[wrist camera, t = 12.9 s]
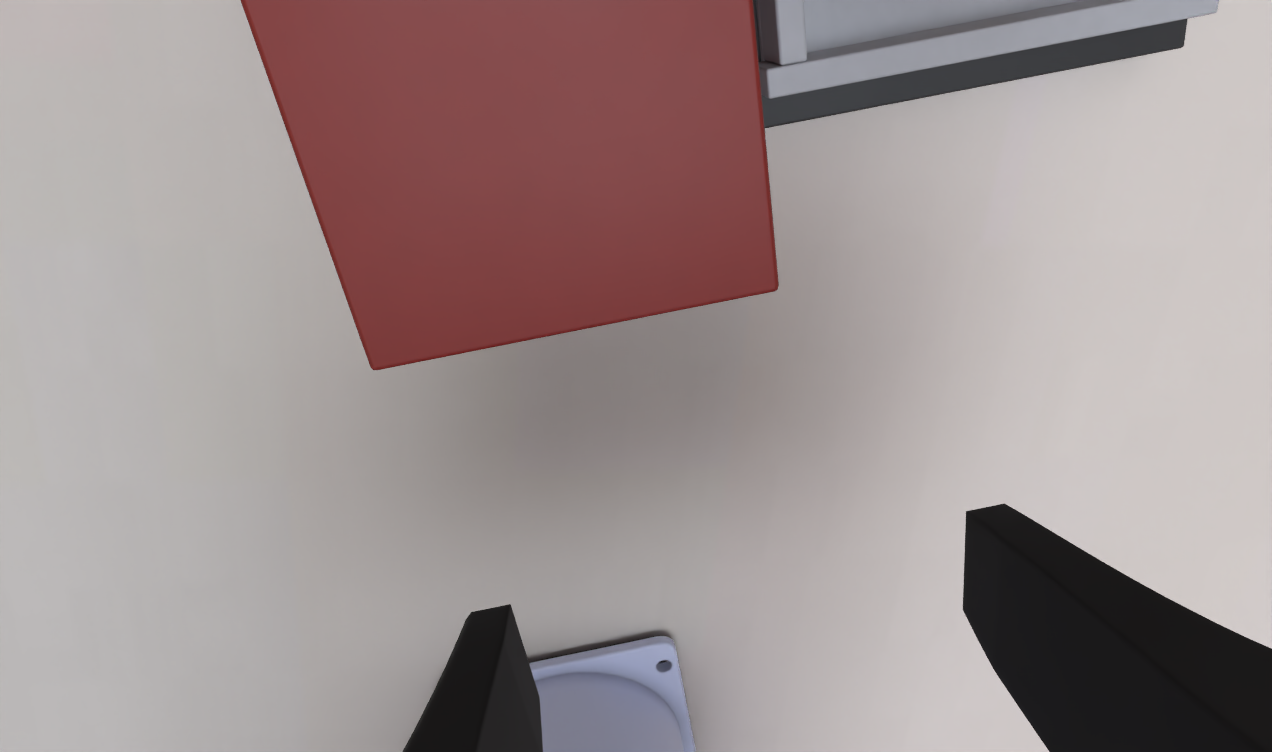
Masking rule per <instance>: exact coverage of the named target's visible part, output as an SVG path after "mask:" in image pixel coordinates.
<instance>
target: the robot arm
mask: <svg viewBox="0 0 1272 752" xmlns="http://www.w3.org/2000/svg"><path fill="white" fill-rule="evenodd" d="M963 611H964V613H965V615H966V617H967V619H968V621H969V623H970V625H971V627H972V629H973V631H974V633H975V635H976V637H977V639H978V641H979V643H980V644H981V646H982V648H983V650H984V652H985V654H986V656H987V658H988V659H989V661H990V663H991V665H992V667H993V669H994V670H995V672H996V673H997V675H998V676H999V678H1000V679H1001V681H1002V683H1003V684H1004V685H1005V687H1006V688H1007V690H1008V691H1009V693H1010V694H1011V696H1012V697H1013V699H1014V700H1015V702H1016V703H1017V705H1018V706H1019V708H1020V709H1021V711H1022V712H1023V714H1024V715H1025V717H1026V718H1027V719H1028V721H1029V722H1030V724H1031V725H1032V727H1033V728H1034V730H1035V731H1036V733H1037V734H1038V736H1039V737H1040V738H1041V740H1042V741H1043V743H1044V744H1045V746H1046V747H1047V749H1048V750H1049V752H1272V649H1271V648H1269V647H1266V646H1264V645H1262V644H1260V643H1257V642H1255V641H1253V640H1250V639H1248V638H1246V637H1244V636H1242V635H1240V634H1238V633H1235V632H1233V631H1231V630H1229V629H1227V628H1225V627H1223V626H1221V625H1219V624H1217V623H1215V622H1213V621H1211V620H1209V619H1207V618H1205V617H1203V616H1201V615H1199V614H1197V613H1195V612H1193V611H1191V610H1189V609H1187V608H1185V607H1183V606H1182V605H1180V604H1178V603H1176V602H1174V601H1172V600H1170V599H1168V598H1166V597H1164V596H1162V595H1161V594H1159V593H1157V592H1155V591H1153V590H1151V589H1150V588H1148V587H1146V586H1144V585H1142V584H1140V583H1139V582H1137V581H1135V580H1133V579H1132V578H1130V577H1128V576H1126V575H1124V574H1123V573H1121V572H1119V571H1117V570H1116V569H1114V568H1112V567H1110V566H1109V565H1107V564H1105V563H1104V562H1102V561H1100V560H1098V559H1097V558H1095V557H1093V556H1092V555H1090V554H1088V553H1087V552H1085V551H1083V550H1082V549H1080V548H1078V547H1077V546H1075V545H1073V544H1072V543H1070V542H1068V541H1067V540H1065V539H1063V538H1062V537H1060V536H1058V535H1057V534H1055V533H1053V532H1052V531H1050V530H1048V529H1047V528H1045V527H1043V526H1042V525H1040V524H1038V523H1037V522H1035V521H1033V520H1032V519H1030V518H1028V517H1027V516H1025V515H1023V514H1022V513H1020V512H1018V511H1016V510H1015V509H1013V508H1011V507H1009V506H1008V505H1006V504H1000V505H996V506H991V507H986V508H981V509H976V510H971V511H966V533H965V563H964V593H963ZM662 660H667V662H664V663H658V662H660V661H662ZM403 752H696V749H695V744H694V739H693V733H692V728H691V723H690V718H689V713H688V708H687V703H686V698H685V692H684V687H683V682H682V677H681V672H680V667H679V662H678V657H677V652H676V647H675V643H674V641H673V640H672V639H671V638H669V637H666V636H656V637H652V638H647V639H642V640H637V641H632V642H628V643H623V644H618V645H613V646H608V647H604V648H599V649H594V650H589V651H585V652H580V653H575V654H570V655H565V656H561V657H556V658H551V659H546V660H541V661H537V662H532V663H529V662H528V659H527V655H526V652H525V649H524V646H523V643H522V640H521V636H520V633H519V630H518V627H517V624H516V621H515V617H514V614H513V611H512V608H511V605H505V606H500V607H495V608H490V609H485V610H480V611H475V612H471V614H470V615H469V616H468V618H467V619H466V621H465V623H464V626H463V628H462V630H461V633H460V635H459V637H458V640H457V642H456V644H455V647H454V649H453V651H452V654H451V656H450V658H449V660H448V662H447V665H446V667H445V669H444V671H443V673H442V675H441V677H440V680H439V682H438V684H437V686H436V688H435V690H434V692H433V694H432V696H431V698H430V700H429V702H428V704H427V706H426V708H425V710H424V712H423V714H422V716H421V718H420V720H419V722H418V724H417V726H416V728H415V730H414V732H413V733H412V735H411V737H410V739H409V741H408V743H407V745H406V746H405V748H404V750H403Z"/></svg>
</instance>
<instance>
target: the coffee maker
mask: <svg viewBox="0 0 1272 752" xmlns="http://www.w3.org/2000/svg"><path fill="white" fill-rule="evenodd" d="M1218 2H1219V0H241V3H242V6H243V8H244V11H245V14H246V17H247V20H248V22H249V25H250V28H251V31H252V34H253V37H254V39H255V42H256V45H257V48H258V51H259V54H260V56H261V59H262V62H263V65H264V68H265V70H266V73H267V76H268V79H269V82H270V85H271V87H272V90H273V93H274V96H275V99H276V102H277V104H278V107H279V110H280V113H281V116H282V118H283V121H284V124H285V127H286V130H287V133H288V135H289V138H290V141H291V144H292V147H293V149H294V152H295V155H296V158H297V161H298V164H299V166H300V169H301V172H302V175H303V178H304V181H305V183H306V186H307V189H308V192H309V195H310V197H311V200H312V203H313V206H314V209H315V212H316V214H317V217H318V220H319V223H320V226H321V229H322V231H323V234H324V237H325V240H326V243H327V245H328V248H329V251H330V254H331V257H332V260H333V262H334V265H335V268H336V271H337V274H338V277H339V279H340V282H341V285H342V288H343V291H344V293H345V296H346V299H347V302H348V305H349V308H350V310H351V313H352V316H353V319H354V322H355V325H356V327H357V330H358V333H359V336H360V339H361V341H362V344H363V347H364V350H365V353H366V356H367V358H368V361H369V364H370V366H371V368H372V369H373V370H380V369H385V368H390V367H395V366H400V365H405V364H410V363H415V362H420V361H425V360H430V359H436V358H441V357H446V356H451V355H456V354H461V353H466V352H471V351H476V350H481V349H486V348H491V347H496V346H501V345H506V344H511V343H516V342H521V341H526V340H531V339H536V338H541V337H546V336H551V335H556V334H561V333H567V332H572V331H577V330H582V329H587V328H592V327H597V326H602V325H607V324H612V323H617V322H622V321H627V320H632V319H637V318H642V317H647V316H652V315H657V314H662V313H667V312H672V311H677V310H682V309H687V308H693V307H698V306H703V305H708V304H713V303H718V302H723V301H728V300H733V299H738V298H743V297H748V296H753V295H758V294H763V293H768V292H773V291H776V290H777V289H778V285H779V283H778V272H777V261H776V250H775V239H774V228H773V217H772V206H771V195H770V184H769V173H768V162H767V151H766V140H765V129H764V128H769V127H774V126H779V125H784V124H789V123H794V122H800V121H805V120H810V119H815V118H820V117H825V116H831V115H836V114H841V113H846V112H851V111H857V110H862V109H867V108H872V107H877V106H882V105H888V104H893V103H898V102H903V101H908V100H914V99H919V98H924V97H929V96H934V95H939V94H945V93H950V92H955V91H960V90H965V89H971V88H976V87H981V86H986V85H991V84H996V83H1002V82H1007V81H1012V80H1017V79H1022V78H1028V77H1033V76H1038V75H1043V74H1048V73H1053V72H1059V71H1064V70H1069V69H1074V68H1079V67H1085V66H1090V65H1095V64H1100V63H1105V62H1110V61H1116V60H1121V59H1126V58H1131V57H1136V56H1142V55H1147V54H1152V53H1157V52H1162V51H1167V50H1173V49H1178V48H1181V47H1183V46H1184V40H1185V33H1186V25H1187V19H1188V18H1193V17H1198V16H1203V15H1209V14H1214V13H1216V12H1217V9H1218Z"/></svg>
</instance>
